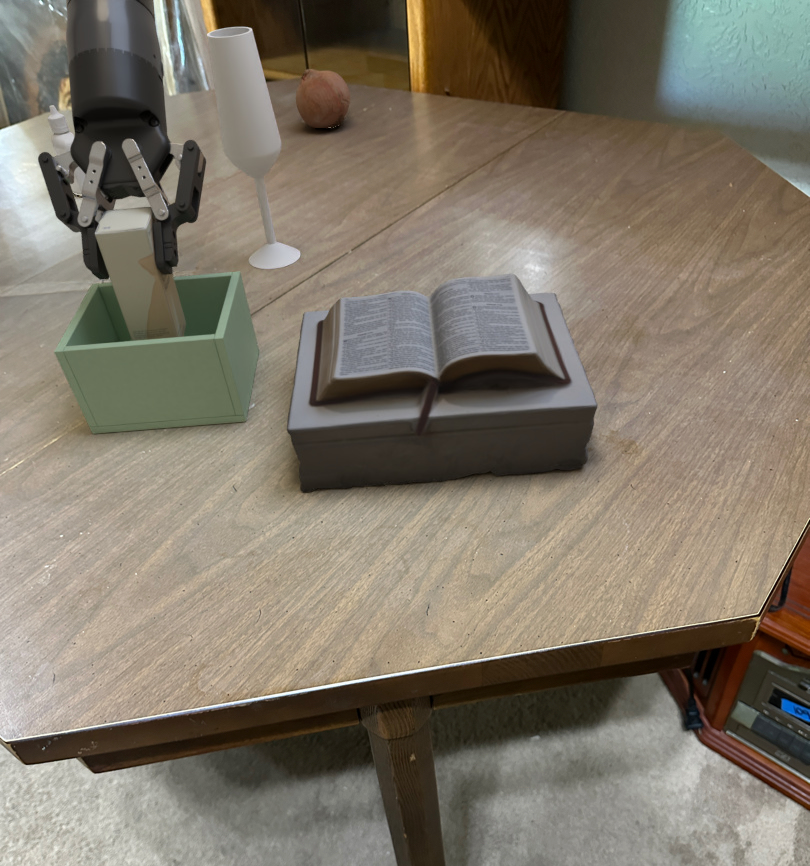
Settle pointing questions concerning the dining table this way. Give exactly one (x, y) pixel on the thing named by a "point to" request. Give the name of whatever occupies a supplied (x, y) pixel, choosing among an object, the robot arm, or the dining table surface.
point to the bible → (438, 387)
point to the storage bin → (163, 360)
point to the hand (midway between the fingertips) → (132, 273)
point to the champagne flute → (248, 126)
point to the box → (139, 275)
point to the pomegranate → (322, 98)
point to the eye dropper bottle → (64, 144)
